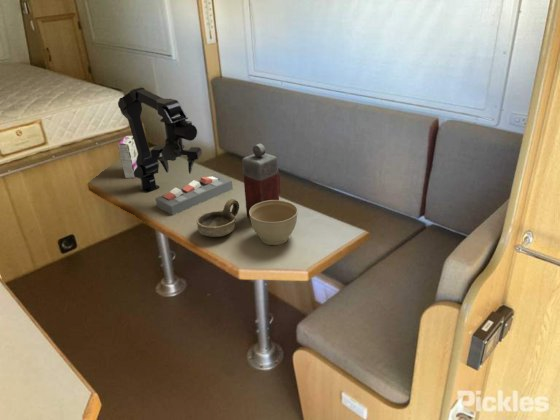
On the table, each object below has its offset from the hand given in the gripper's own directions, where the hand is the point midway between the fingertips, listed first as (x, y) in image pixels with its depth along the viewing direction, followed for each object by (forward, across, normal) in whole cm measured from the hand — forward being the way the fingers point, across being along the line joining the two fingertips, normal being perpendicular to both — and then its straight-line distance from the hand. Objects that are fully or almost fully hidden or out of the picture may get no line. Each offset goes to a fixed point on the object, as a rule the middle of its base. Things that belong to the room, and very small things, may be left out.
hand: (178, 172), depth 184 cm
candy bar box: (+14, -33, +25) cm, 44 cm away
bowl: (+12, +22, -22) cm, 33 cm away
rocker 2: (+9, +3, +5) cm, 10 cm away
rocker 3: (+9, +8, +12) cm, 17 cm away
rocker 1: (+9, -2, -3) cm, 10 cm away
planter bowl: (+11, +42, -24) cm, 50 cm away
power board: (+12, +4, +4) cm, 14 cm away
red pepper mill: (+12, +36, -8) cm, 38 cm away
